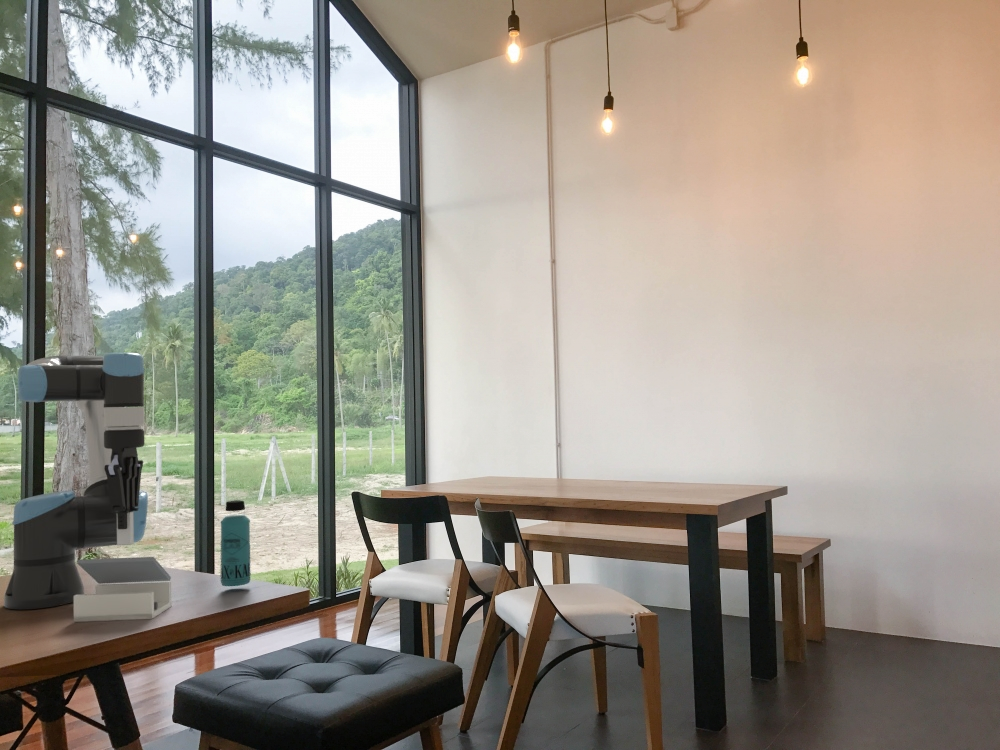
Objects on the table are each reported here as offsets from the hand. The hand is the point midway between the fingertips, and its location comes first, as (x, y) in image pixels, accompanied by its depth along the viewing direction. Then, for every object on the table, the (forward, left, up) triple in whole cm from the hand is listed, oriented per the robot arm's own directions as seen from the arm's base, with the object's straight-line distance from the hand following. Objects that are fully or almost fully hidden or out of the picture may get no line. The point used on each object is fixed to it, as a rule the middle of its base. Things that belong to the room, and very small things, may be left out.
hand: (125, 544), depth 161 cm
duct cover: (+1, 0, -5) cm, 6 cm away
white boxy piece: (+1, 0, -14) cm, 14 cm away
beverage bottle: (-17, +17, -14) cm, 28 cm away
